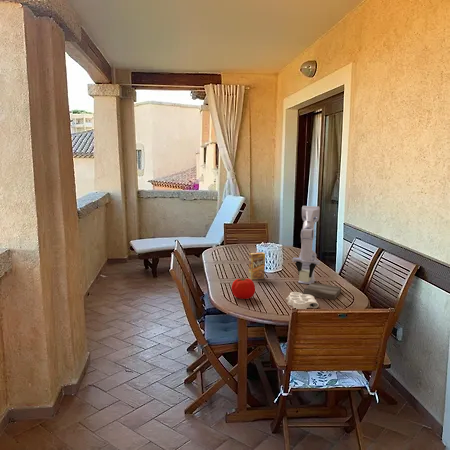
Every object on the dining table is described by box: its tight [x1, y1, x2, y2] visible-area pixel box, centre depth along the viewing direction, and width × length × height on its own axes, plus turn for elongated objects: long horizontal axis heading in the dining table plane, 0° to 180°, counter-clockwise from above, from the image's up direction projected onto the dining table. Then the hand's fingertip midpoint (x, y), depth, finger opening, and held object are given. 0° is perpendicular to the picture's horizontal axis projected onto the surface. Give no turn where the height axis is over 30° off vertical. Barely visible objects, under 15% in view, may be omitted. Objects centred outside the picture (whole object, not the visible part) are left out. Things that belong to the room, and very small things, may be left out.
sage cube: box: [298, 270, 311, 282], centre depth 216 cm, size 5×5×5 cm
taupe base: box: [302, 282, 342, 301], centre depth 215 cm, size 16×16×2 cm
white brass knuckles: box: [285, 291, 320, 310], centre depth 198 cm, size 3×18×15 cm
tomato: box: [231, 276, 256, 300], centre depth 204 cm, size 12×12×10 cm
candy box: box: [247, 251, 266, 281], centre depth 240 cm, size 9×4×15 cm, turn 115°
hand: (305, 276), depth 216 cm, fingers closed on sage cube, 5 cm apart
